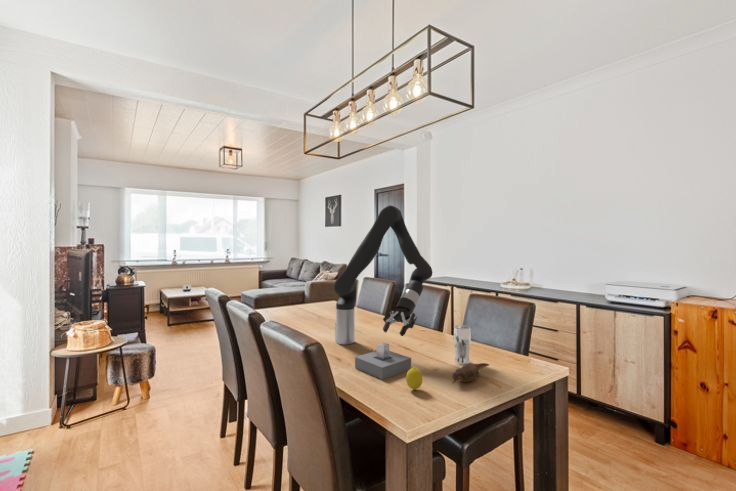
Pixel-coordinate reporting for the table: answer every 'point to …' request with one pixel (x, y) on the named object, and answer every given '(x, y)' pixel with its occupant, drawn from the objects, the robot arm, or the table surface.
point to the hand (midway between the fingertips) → (392, 333)
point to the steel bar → (383, 351)
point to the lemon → (414, 378)
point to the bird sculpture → (468, 372)
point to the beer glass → (462, 344)
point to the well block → (383, 364)
